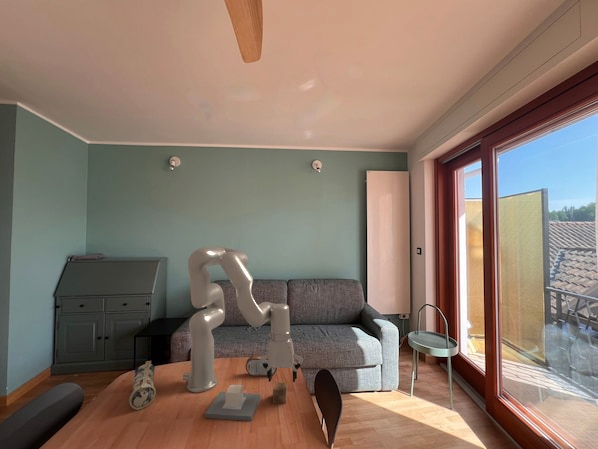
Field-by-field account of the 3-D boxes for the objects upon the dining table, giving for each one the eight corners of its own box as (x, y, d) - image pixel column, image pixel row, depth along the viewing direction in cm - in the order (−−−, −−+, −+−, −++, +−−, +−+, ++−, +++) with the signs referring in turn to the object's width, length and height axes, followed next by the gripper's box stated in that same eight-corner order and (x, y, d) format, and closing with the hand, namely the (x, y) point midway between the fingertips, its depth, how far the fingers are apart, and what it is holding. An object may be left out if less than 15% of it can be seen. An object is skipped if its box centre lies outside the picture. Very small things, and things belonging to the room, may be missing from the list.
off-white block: (225, 406, 94) (225, 392, 94) (230, 398, 99) (230, 384, 99) (238, 407, 94) (238, 393, 94) (242, 398, 99) (243, 385, 99)
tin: (278, 373, 120) (278, 355, 121) (277, 376, 117) (277, 358, 118) (246, 373, 121) (246, 355, 121) (244, 376, 118) (245, 358, 118)
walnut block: (273, 402, 99) (273, 389, 99) (275, 395, 104) (275, 382, 104) (285, 403, 98) (285, 390, 98) (287, 395, 103) (287, 383, 103)
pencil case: (132, 386, 111) (133, 363, 112) (155, 380, 115) (155, 358, 116) (128, 416, 92) (129, 388, 93) (155, 408, 96) (156, 381, 97)
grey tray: (204, 417, 91) (204, 412, 91) (220, 395, 104) (220, 391, 104) (251, 420, 89) (251, 415, 89) (260, 397, 102) (260, 393, 102)
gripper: (257, 339, 99) (258, 385, 98) (301, 339, 98) (303, 386, 96) (262, 332, 107) (263, 374, 106) (303, 332, 105) (304, 375, 104)
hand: (282, 380), depth 101 cm, fingers open, 9 cm apart
